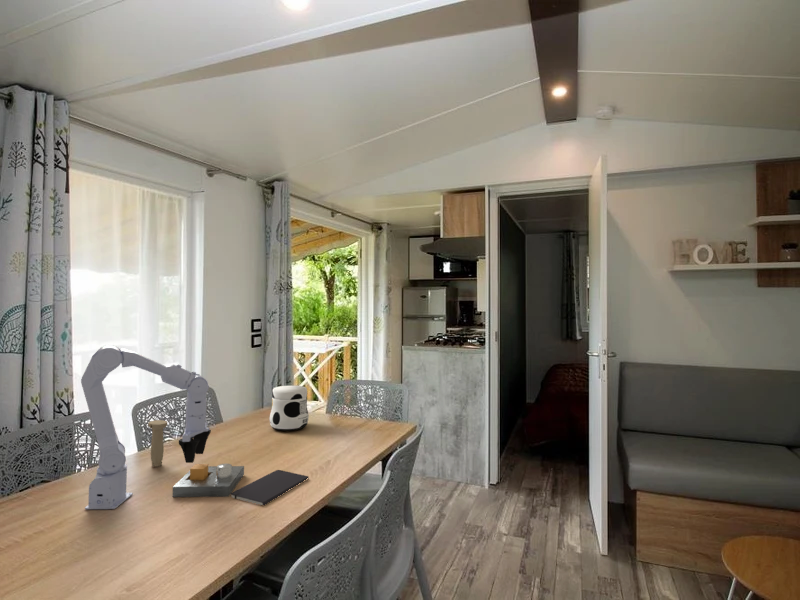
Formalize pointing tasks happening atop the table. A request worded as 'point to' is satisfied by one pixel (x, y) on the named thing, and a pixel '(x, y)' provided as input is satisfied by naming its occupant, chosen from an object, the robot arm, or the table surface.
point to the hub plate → (210, 482)
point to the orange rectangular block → (199, 472)
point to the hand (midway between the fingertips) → (194, 457)
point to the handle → (157, 441)
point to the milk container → (289, 408)
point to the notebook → (268, 487)
